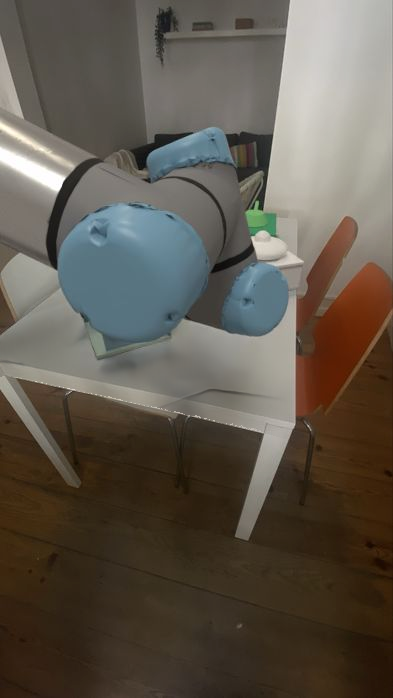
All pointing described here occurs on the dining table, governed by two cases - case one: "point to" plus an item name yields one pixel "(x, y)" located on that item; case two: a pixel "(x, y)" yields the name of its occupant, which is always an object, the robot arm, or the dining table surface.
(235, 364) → the dining table surface
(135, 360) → the dining table surface
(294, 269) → the butter dish
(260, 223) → the toy tank
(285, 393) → the dining table surface
